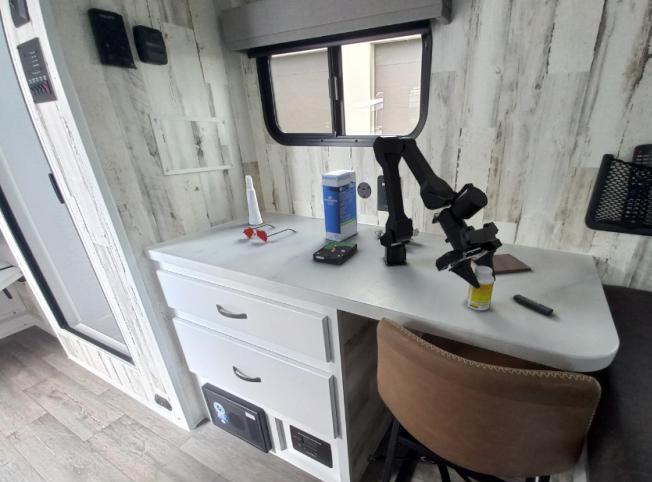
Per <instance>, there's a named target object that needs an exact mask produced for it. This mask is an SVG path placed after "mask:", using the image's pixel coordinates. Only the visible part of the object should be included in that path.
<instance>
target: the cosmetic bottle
mask: <svg viewBox="0 0 652 482" xmlns="http://www.w3.org/2000/svg"><path fill="white" fill-rule="evenodd" d="M244 181H245V185H246V190H245V191H246V199H247V208H248V220H249V221H248V222H249V223H248V224H249V225H251V226H256V225H261V224H263V223H264V222H263V219H262V216H261V212H260V208H259V203H258V199H257V194H256V189H255V188H254V184H253V178H252V176H251V175H249V174H248V175H245V180H244Z"/></svg>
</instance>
